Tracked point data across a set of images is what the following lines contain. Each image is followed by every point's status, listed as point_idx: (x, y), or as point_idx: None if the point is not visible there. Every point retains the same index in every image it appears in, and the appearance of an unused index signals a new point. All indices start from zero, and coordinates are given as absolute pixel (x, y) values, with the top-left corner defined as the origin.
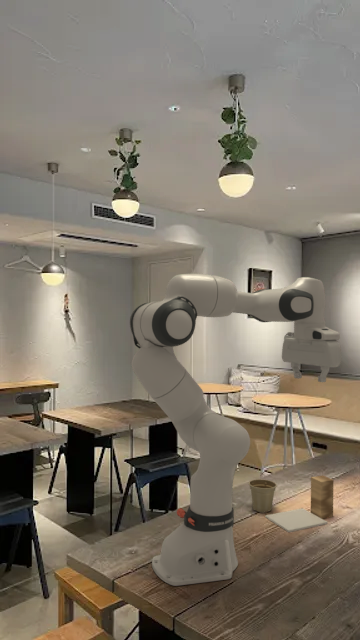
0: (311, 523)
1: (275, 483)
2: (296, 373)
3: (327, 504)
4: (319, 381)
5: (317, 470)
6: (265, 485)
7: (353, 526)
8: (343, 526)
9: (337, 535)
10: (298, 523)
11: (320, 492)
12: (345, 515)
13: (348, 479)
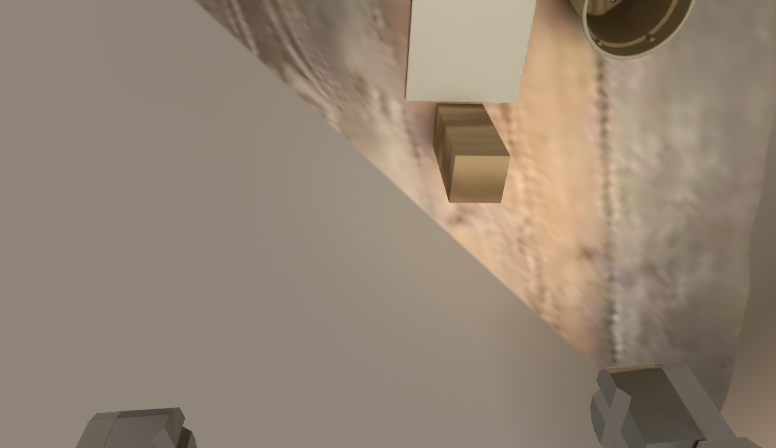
0: (420, 49)
1: (608, 54)
2: (664, 428)
3: (440, 143)
4: (149, 409)
5: (676, 317)
6: (647, 34)
7: (360, 149)
8: (372, 126)
9: (334, 69)
10: (440, 10)
11: (453, 138)
12: (422, 179)
13: (580, 334)
